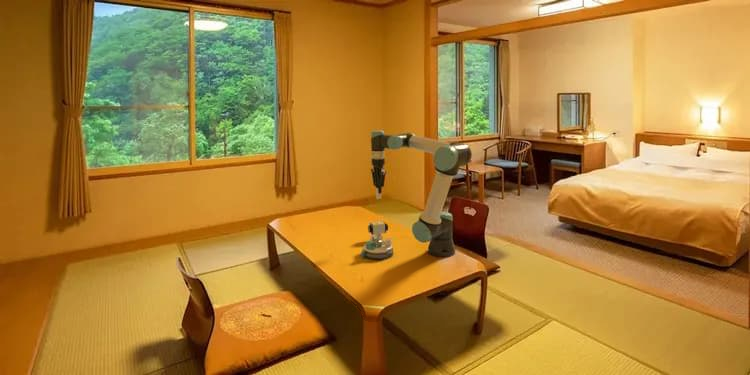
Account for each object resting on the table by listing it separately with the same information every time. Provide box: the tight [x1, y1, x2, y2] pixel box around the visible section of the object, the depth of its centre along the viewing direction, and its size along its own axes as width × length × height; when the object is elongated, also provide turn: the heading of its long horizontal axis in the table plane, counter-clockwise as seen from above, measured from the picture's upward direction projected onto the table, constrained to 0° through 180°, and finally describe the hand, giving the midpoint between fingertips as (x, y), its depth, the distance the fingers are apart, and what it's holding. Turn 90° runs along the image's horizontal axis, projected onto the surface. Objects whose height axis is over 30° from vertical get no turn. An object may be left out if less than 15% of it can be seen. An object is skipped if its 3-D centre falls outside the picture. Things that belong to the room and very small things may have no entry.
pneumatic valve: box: [367, 221, 389, 241], centre depth 258 cm, size 6×12×12 cm, turn 106°
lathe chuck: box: [362, 234, 393, 254], centre depth 234 cm, size 16×16×6 cm
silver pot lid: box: [360, 247, 394, 261], centre depth 234 cm, size 17×18×4 cm
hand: (378, 198), depth 245 cm, fingers closed
